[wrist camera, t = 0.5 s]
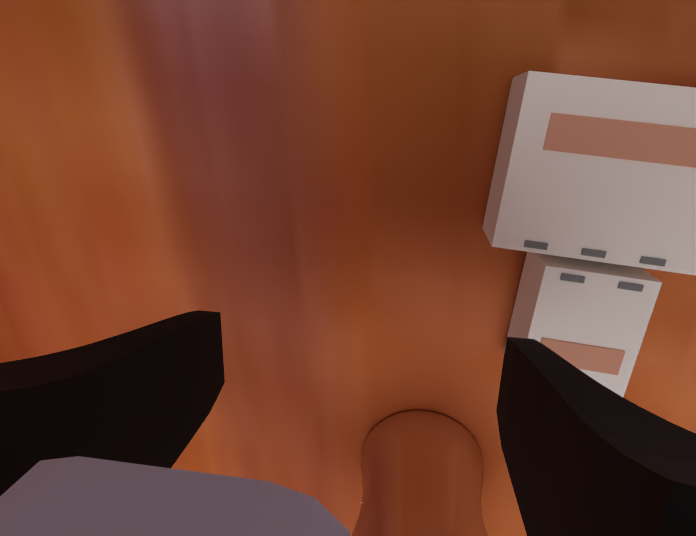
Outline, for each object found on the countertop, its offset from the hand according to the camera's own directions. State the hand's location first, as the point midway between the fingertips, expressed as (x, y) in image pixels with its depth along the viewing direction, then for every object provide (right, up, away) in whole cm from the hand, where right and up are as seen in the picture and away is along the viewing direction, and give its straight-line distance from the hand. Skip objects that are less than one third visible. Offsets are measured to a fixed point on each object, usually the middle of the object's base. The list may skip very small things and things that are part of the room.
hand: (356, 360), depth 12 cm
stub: (+9, +1, +9) cm, 13 cm away
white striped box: (+12, +6, +7) cm, 15 cm away
